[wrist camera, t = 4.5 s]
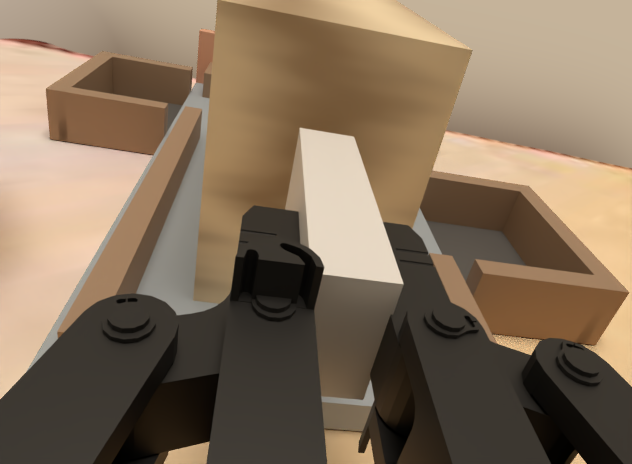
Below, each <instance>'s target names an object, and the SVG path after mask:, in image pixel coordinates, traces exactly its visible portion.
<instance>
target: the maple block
mask: <svg viewBox="0 0 632 464" xmlns="http://www.w3.org/2000/svg"><path fill="white" fill-rule="evenodd" d="M471 54H472V50H471V49H470V48H468V47H467V46H465V45H464V44H462V43H461V42H459V41H458V40H456V39H455V38H453V37H451V36H449V35H448V34H447V33H445V32H444V31H442V30H441V29H439V28H438V27H436V26H435V25H433V24H431V23H430V22H428V21H427V20H425V19H424V18H422V17H421V16H419V15H418V14H416V13H414V12H413V11H411V10H410V9H408V8H407V7H405V6H404V5H402V4H401V3H399V2H397V1H396V0H218V1H217V13H216V26H215V37H214V50H213V62H212V74H211V86H210V99H209V111H208V123H207V135H206V148H205V160H204V172H203V184H202V197H201V209H200V221H199V233H198V246H197V258H196V270H195V282H194V295H193V301H200V302H209V303H218V304H220V303H221V302H223V301H224V300H225V299H226V297H227V296H228V295H229V294H230V291H231V287H232V279H233V272H234V264H235V256H236V254H237V250H238V243H239V236H240V230H241V223H242V216H243V215H244V214H245V213H246V212H247V211H248V210H249V209H250V208H251V207H252V206H253V205H256V206H263V207H270V208H277V209H284V210H285V207H286V201H287V196H288V190H289V184H290V179H291V173H292V168H293V162H294V157H295V151H296V146H297V140H298V135H299V129H300V128H305V129H311V130H317V131H323V132H329V133H335V134H341V135H347V136H353V137H354V138H355V141H356V144H357V147H358V150H359V153H360V156H361V159H362V162H363V165H364V168H365V171H366V174H367V176H368V179H369V182H370V185H371V188H372V191H373V194H374V197H375V200H376V203H377V206H378V209H379V212H380V215H381V218H382V221H383V222H388V223H395V224H403V225H408V226H410V227H411V228H413V226H414V223H415V220H416V217H417V214H418V211H419V208H420V205H421V202H422V199H423V196H424V193H425V190H426V187H427V184H428V181H429V178H430V175H431V172H432V169H433V166H434V163H435V160H436V157H437V154H438V151H439V148H440V145H441V142H442V140H443V137H444V134H445V131H446V127H447V125H448V122H449V119H450V116H451V113H452V110H453V107H454V104H455V101H456V98H457V95H458V92H459V89H460V86H461V83H462V80H463V77H464V74H465V71H466V68H467V65H468V62H469V59H470V56H471Z"/></svg>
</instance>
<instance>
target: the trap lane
mask: <svg viewBox="0 0 632 464" xmlns="http://www.w3.org/2000/svg"><path fill="white" fill-rule="evenodd" d="M199 33H200V34H199V47H198V63H197V77H196V84H195V85H194V87H193V89H192V90H191V85H192V67H188V66H182V65H177V64H171V63H165V62H160V61H154V60H148V59H143V58H137V57H132V56H126V55H120V54H115V53H109V52H104V51H102V52H100V53H99V54H97V55H96V56H94V57H93V58H91V59H90V60H88V61H87V62H85V63H84V64H82V65H81V66H79V67H78V68H76V69H75V70H73V71H72V72H70V73H69V74H67V75H66V76H64V77H63V78H61V79H60V80H58V81H57V82H55V83H54V84H52V85H51V86H49V87H48V88H46V97H47V109H48V120H49V131H50V139H53V140H60V141H66V142H73V143H79V144H86V145H92V146H99V147H106V148H112V149H119V150H125V151H132V152H138V153H145V154H152V155H153V157H152V159H151V160H150V162H149V164H148V165H147V167H146V169H145V171H144V172H143V174H142V176H141V177H140V179H139V181H138V182H137V184H136V186H135V188H134V189H133V191H132V193H131V194H130V196H129V198H128V200H127V201H126V203H125V205H124V206H123V208H122V210H121V211H120V213H119V215H118V217H117V218H116V220H115V222H114V223H113V225H112V227H111V228H110V230H109V232H108V234H107V235H106V237H105V239H104V240H103V242H102V244H101V246H100V247H99V249H98V251H97V252H96V254H95V256H94V257H93V259H92V261H91V263H90V264H89V266H88V268H87V269H86V271H85V273H84V275H83V276H82V278H81V280H80V281H79V283H78V285H77V286H76V288H75V290H74V292H73V293H72V295H71V297H70V298H69V300H68V302H67V304H66V305H65V307H64V309H63V310H62V312H61V314H60V315H59V317H58V319H57V321H56V322H55V324H54V326H53V327H52V329H51V331H50V333H49V334H48V336H47V338H46V339H45V341H44V343H43V344H42V346H41V348H40V350H39V351H38V353H37V355H36V356H35V358H34V360H33V362H32V363H31V365H30V367H29V368H28V370H29V369H30V368H31V367H32V366H33V365H34V364H35V363H36V361H37V360H38V359H39V358H40V357H41V356H42V355H43V354H44V353H45V352H46V351H47V350H48V349H49V348H50V347H51V346H52V345H53V344H54V342H55V341H56V340H57V339H58V338H59V337H60V336H61V335H62V334H63V333H64V332H65V331H66V330H67V329H68V328H69V327H70V326H71V325H72V323H73V322H74V321H75V320H76V319H77V318H78V317H79V316H80V315H81V314H82V313H83V312H84V311H85V310H86V309H88V308H89V307H91V306H92V305H93V304H95V303H96V302H97V301H100V300H103V299H106V298H108V297H111V296H114V295H121V294H131V293H135V294H143V295H150V296H153V297H155V298H158V299H160V300H162V301H165V302H166V303H167V304H168V305H169V306H170V307H171V308H172V309H173V310H174V311H175V312H176V315H184V314H192V313H197V312H201V311H205V310H208V309H210V308H213V307H215V306H217V305H218V303H209V302H200V301H193V295H194V282H195V270H196V258H197V246H198V233H199V221H200V209H201V197H202V184H203V172H204V160H205V148H206V135H207V123H208V111H209V99H210V86H211V74H212V62H213V50H214V37H215V31H212V30H206V29H201V30H200V32H199ZM412 229H413V230H414V231H415V232H416V233H417V234H418V235H419V236H420V237H421V238H422V239H423V241H424V244H425V246H426V248H427V250H428V255H430V257H431V259H432V262H433V267H435V268H436V271H437V273H438V275H439V277H440V280H441V282H442V284H443V286H444V289H445V291H446V293H447V295H448V297H449V300H450V302H451V303H453V304H456V305H458V306H460V307H462V308H464V309H465V310H467V311H468V312H469V313H470V314H472V315H473V316H474V317H476V319H477V320H478V321H479V323H480V324H481V325H482V327H483V328H484V330H485V332H486V334H487V336H488V338H489V340H490V341H492V342H494V343H496V341H495V339H494V337H493V335H492V333H493V334H502V335H511V336H520V337H528V338H537V339H548V338H558V339H565V340H568V341H572V342H575V343H581V344H590V345H596V343H597V342H598V340H599V339H600V337H601V335H602V334H603V332H604V331H605V329H606V328H607V326H608V325H609V323H610V322H611V320H612V318H613V317H614V315H615V314H616V312H617V311H618V309H619V308H620V306H621V304H622V303H623V301H624V300H625V298H626V297H627V295H628V294H629V292H628V291H627V290H626V288H625V287H624V286H623V285H622V284H621V283H620V282H619V281H618V280H617V279H616V278H615V277H614V276H613V275H612V274H611V273H610V272H609V270H608V269H607V268H606V267H605V266H604V265H603V264H602V263H601V262H600V261H599V260H598V259H597V258H596V257H595V256H594V255H593V254H592V252H591V251H590V250H589V249H588V248H587V247H586V246H585V245H584V244H583V243H582V242H581V241H580V240H579V239H578V238H577V237H576V236H575V234H574V233H573V232H572V231H571V230H570V229H569V228H568V227H567V226H566V225H565V224H564V223H563V222H562V221H561V220H560V219H559V217H558V216H557V215H556V214H555V213H554V212H553V211H552V210H551V209H550V208H549V207H548V206H547V205H546V204H545V203H544V202H543V201H542V199H541V198H540V197H539V196H538V195H537V194H536V193H535V192H534V191H533V190H532V189H531V188H530V187H529V186H525V185H518V184H512V183H506V182H500V181H493V180H487V179H481V178H475V177H468V176H462V175H456V174H450V173H443V172H437V171H432V172H431V175H430V178H429V181H428V184H427V187H426V190H425V193H424V196H423V199H422V202H421V205H420V208H419V211H418V214H417V217H416V220H415V223H414V226H413V228H412ZM496 344H497V343H496ZM28 370H27V371H28ZM321 398H322V410H323V422H324V428H325V429H338V430H350V431H363V429H364V427H365V424H366V421H367V418H368V416H369V413H370V410H371V407H372V405H373V402H374V394H373V388H372V383H371V379H370V382H369V385H368V388H367V391H366V394H365V396H364V399H363V400H358V399H346V398H335V397H323V396H321Z"/></svg>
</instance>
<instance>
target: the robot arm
mask: <svg viewBox="0 0 632 464" xmlns="http://www.w3.org/2000/svg"><path fill="white" fill-rule="evenodd" d="M370 379H371V383H372V388H373V394H374V402H373V405H372V407H371V410H370V413H369V416H368V418H367V421H366V424H365V427H364V429H363V432H362V435H361V438H360V440H359V449H358V453H364V452H365V449H366V447H367V444H368V442H369V439H371V445H372V451H373V457H374V463H375V464H571V462H572V461H573V459H574V458H575V457H576V455H577V454H578V453H579V454H580V456H581V457H582V458H583V459H584V461H585V462H586V463H587V464H632V387H631V386H630V385H629V384H628V383H627V382H626V381H625V380H624V379H623V378H622V377H621V376H620V375H619V374H618V373H617V372H616V371H615V370H614V369H613V368H612V367H611V366H610V365H609V364H608V363H607V362H606V361H604V360H603V359H602V358H601V357H600V356H598V355H597V354H596V353H594V352H593V351H591V350H589V349H587V348H585V347H584V346H582V345H580V344H578V343H575V342H572V341H568V340H565V339H558V338H548V339H545V340H542V341H540V342H539V343H538V345H537V346H536V348H535V350H534V351H533V353H532V355H528V354H525V353H522V352H519V351H516V350H514V349H511V348H508V347H505V346H502V345H499V344H496V343H494V342H492V341H490V340H489V338H488V336H487V334H486V332H485V330H484V328H483V327H482V325H481V324H480V323H479V321H478V320H477V319H476V317H474V316H473V315H472V314H470V313H469V312H468V311H467V310H465V309H464V308H462V307H460V306H458V305H456V304H453V303H451V302H450V300H449V297H448V295H447V293H446V291H445V289H444V286H443V284H442V282H441V280H440V277H439V275H438V273H437V271H436V268H435V267H433V262H432V259H431V257H430V255H428V250H427V248H426V246H425V244H424V241H423V239H422V238H421V237H420V236H419V235H418V234H417V233H416V232H415V231H414V230H413V229H412V228H411V227H410V226H408V225H403V224H395V223H388V222H383V221H382V218H381V215H380V212H379V209H378V206H377V203H376V200H375V197H374V194H373V191H372V188H371V185H370V182H369V179H368V176H367V174H366V171H365V168H364V165H363V162H362V159H361V156H360V153H359V150H358V147H357V144H356V141H355V138H354V137H353V136H347V135H341V134H335V133H329V132H323V131H317V130H311V129H305V128H300V129H299V135H298V140H297V146H296V151H295V157H294V162H293V168H292V173H291V179H290V184H289V190H288V196H287V201H286V207H285V210H284V209H277V208H270V207H263V206H256V205H253V206H252V207H251V208H250V209H249V210H248V211H247V212H246V213H245V214H244V215H243V216H242V223H241V230H240V236H239V243H238V250H237V254H236V256H235V264H234V272H233V279H232V287H231V291H230V294H229V295H228V296H227V297H226V299H225V300H224V301H223V302H221V303H220V304H218V305H217V306H215V307H213V308H210V309H208V310H205V311H201V312H197V313H192V314H184V315H176V312H175V311H174V310H173V309H172V308H171V307H170V306H169V305H168V304H167V303H166V302H165V301H162V300H160V299H158V298H155V297H153V296H150V295H143V294H135V293H131V294H121V295H114V296H111V297H108V298H106V299H103V300H100V301H97V302H96V303H95V304H93V305H92V306H91V307H89V308H88V309H86V310H85V311H84V312H83V313H82V314H81V315H80V316H79V317H78V318H77V319H76V320H75V321H74V322H73V323H72V325H71V326H70V327H69V328H68V329H67V330H66V331H65V332H64V333H63V334H62V335H61V336H60V337H59V338H58V339H57V340H56V341H55V342H54V344H53V345H52V346H51V347H50V348H49V349H48V350H47V351H46V352H45V353H44V354H43V355H42V356H41V357H40V358H39V359H38V360H37V361H36V363H35V364H34V365H33V366H32V367H31V368H30V369H29V370H28V371H27V372H26V373H25V374H24V375H23V376H22V377H21V378H20V379H19V380H18V382H17V383H16V384H15V385H14V386H13V387H12V388H11V389H10V390H9V391H8V392H7V393H6V394H5V395H4V396H3V397H2V398H1V399H0V464H163V463H164V461H165V459H166V457H167V455H168V452H169V451H171V450H175V449H179V448H184V447H188V446H192V445H196V444H201V443H205V442H209V441H210V443H209V450H208V457H207V464H327V458H326V446H325V434H324V422H323V410H322V398H321V396H323V397H335V398H346V399H358V400H363V399H364V396H365V394H366V391H367V388H368V385H369V382H370Z"/></svg>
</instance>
